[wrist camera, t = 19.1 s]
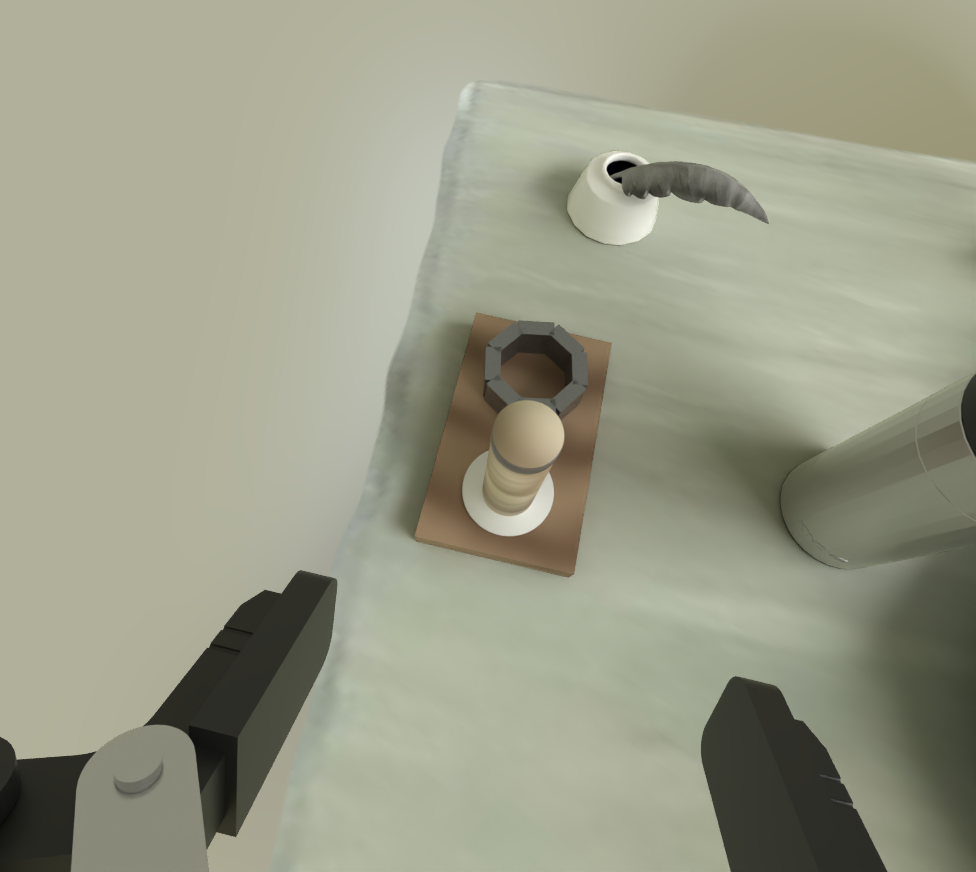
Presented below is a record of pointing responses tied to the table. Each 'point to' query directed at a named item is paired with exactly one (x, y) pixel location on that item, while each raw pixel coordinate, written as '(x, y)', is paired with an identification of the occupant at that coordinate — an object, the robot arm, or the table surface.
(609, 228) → the inkwell
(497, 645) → the table surface
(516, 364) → the walnut board
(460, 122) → the table surface
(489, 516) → the rest disc
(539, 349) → the ring
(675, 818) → the table surface
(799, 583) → the table surface
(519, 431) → the wooden peg
